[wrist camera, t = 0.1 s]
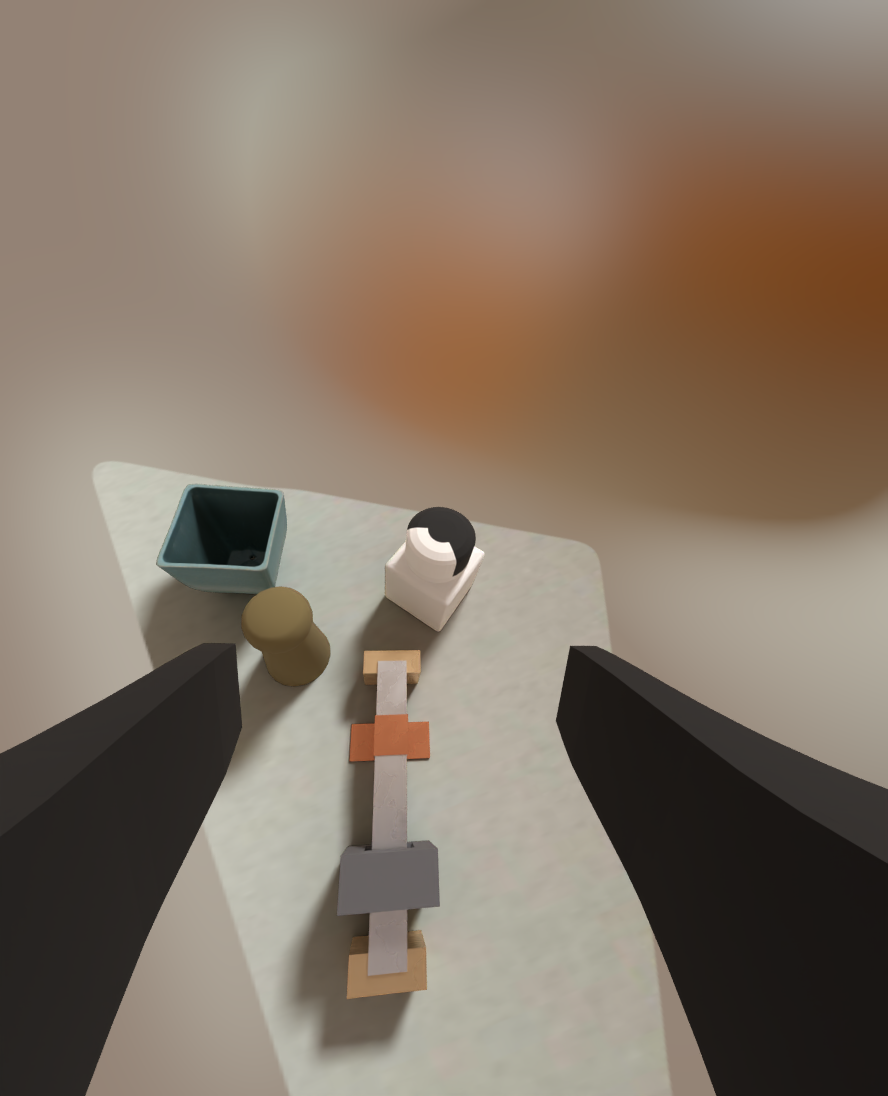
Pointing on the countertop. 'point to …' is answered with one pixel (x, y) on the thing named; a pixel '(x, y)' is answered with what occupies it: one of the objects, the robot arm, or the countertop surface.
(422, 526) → the medicine bottle
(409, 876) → the collar
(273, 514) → the flower pot
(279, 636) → the brown pawn figure
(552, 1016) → the countertop surface
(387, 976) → the rail
